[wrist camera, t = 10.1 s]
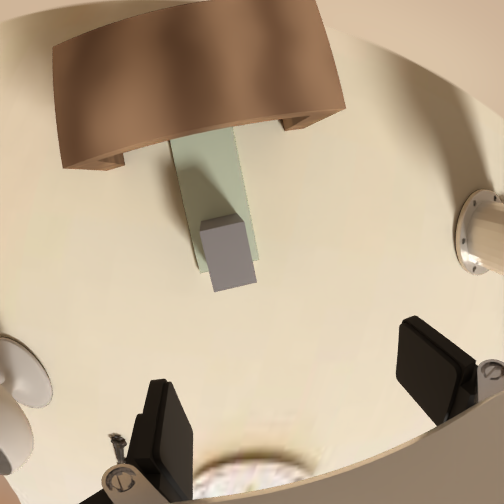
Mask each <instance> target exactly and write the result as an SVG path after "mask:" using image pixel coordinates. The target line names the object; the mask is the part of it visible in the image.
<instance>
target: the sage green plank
mask: <svg viewBox="0 0 504 504" xmlns="http://www.w3.org/2000/svg"><path fill="white" fill-rule="evenodd" d="M170 143H171V148H172V153H173V158H174V163H175V167H176V172H177V177H178V182H179V186H180V191H181V195H182V200H183V204H184V209H185V213H186V217H187V222H188V226H189V230H190V234H191V238H192V242H193V246H194V250H195V254H196V258H197V262H198V266H199V270H200V273H204V272H208V271H209V274H210V277H211V281H212V285H213V289H214V292H217V291H222V290H226V289H230V288H235V287H239V286H243V285H247V284H251V283H256V282H257V280H256V276H255V271H254V266H253V261H256V260H259V255H258V250H257V245H256V240H255V235H254V230H253V225H252V220H251V215H250V210H249V205H248V200H247V195H246V190H245V185H244V180H243V175H242V171H241V166H240V161H239V156H238V151H237V146H236V141H235V136H234V131H233V127H228V128H222V129H217V130H212V131H207V132H203V133H198V134H193V135H189V136H185V137H180V138H176V139H172V140H170Z"/></svg>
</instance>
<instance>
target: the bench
mask: <svg viewBox="0 0 504 504" xmlns="http://www.w3.org/2000/svg"><path fill="white" fill-rule="evenodd" d="M53 86H54V102H55V113H56V123H57V132H58V140H59V147H60V154H61V160H62V166H63V168H65V169H87V170H104V171H107V170H111V169H114V168H117V167H121V166H124V165H125V162H124V157H123V153H124V152H127V151H131V150H134V149H138V148H141V147H145V146H149V145H152V144H156V143H160V142H164V141H168V140H172V139H176V138H180V137H185V136H189V135H193V134H198V133H203V132H207V131H212V130H217V129H222V128H228V127H233V126H239V125H245V124H251V123H257V122H263V121H270V120H278V119H282V120H283V125H284V130H285V131H288V130H295V129H303V128H305V127H308V126H310V125H312V124H314V123H316V122H318V121H320V120H322V119H324V118H326V117H328V116H331V115H333V114H335V113H337V112H339V111H341V110H344V109H346V106H345V102H344V97H343V93H342V89H341V85H340V81H339V77H338V73H337V69H336V65H335V62H334V58H333V55H332V51H331V48H330V44H329V41H328V38H327V34H326V31H325V28H324V25H323V22H322V19H321V16H320V13H319V10H318V7H317V5H316V1H315V0H210V1H202V2H196V3H190V4H185V5H179V6H174V7H170V8H165V9H161V10H157V11H153V12H149V13H145V14H141V15H137V16H134V17H131V18H127V19H124V20H121V21H118V22H114V23H111V24H108V25H106V26H103V27H100V28H97V29H94V30H92V31H89V32H87V33H84V34H82V35H79V36H77V37H74V38H72V39H70V40H67V41H65V42H63V43H61V44H58V45H56V46H54V47H53Z"/></svg>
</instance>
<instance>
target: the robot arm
mask: <svg viewBox="0 0 504 504" xmlns="http://www.w3.org/2000/svg"><path fill="white" fill-rule="evenodd" d="M456 251H457V256H458V259H459V262H460V264H461V266H462V267H463V269H465V270H466V271H467V272H469V273H471V274H473V275H482V274H484V273H486V272H487V271H489V270H491V271H494V272H496V273H499V274H501V275H503V276H504V203H502V202H501V200H500V198H499V197H498V196H497V194H495V193H494V192H493V191H490V190H485V189H481V190H477V191H476V192H474V193H473V194H472V195H471V196H469V198H468V199H467V201H466V202H465V204H464V206H463V208H462V210H461V213H460V216H459V219H458V223H457V229H456ZM475 363H476V360H475V359H473V358H472V357H471V356H469V355H468V354H467V353H466V352H464V351H463V350H462V349H460V348H459V347H458V346H456V345H455V344H454V343H452V342H451V341H450V340H449V339H447V338H446V337H445V336H443V335H442V334H441V333H439V332H438V331H437V330H435V329H434V328H432V327H431V326H430V325H428V324H427V323H426V322H424V321H423V320H422V319H420V318H419V317H418V316H412V317H409V318H406V319H404V320H403V321H402V324H401V325H400V327H399V342H398V356H397V367H396V378H397V380H398V382H399V383H400V384H401V385H402V386H403V387H404V388H405V390H406V391H407V392H408V393H409V394H410V395H411V396H412V398H413V399H414V400H415V401H416V402H417V403H418V405H419V406H420V407H421V408H422V409H423V410H424V412H425V413H426V414H427V415H428V416H429V417H430V419H431V420H432V421H433V422H434V423H435V424H436V426H437V427H435V428H433V429H431V430H430V431H428V432H426V433H424V434H422V435H420V436H418V437H416V438H414V439H412V440H410V441H408V442H405V443H403V444H401V445H399V446H397V447H395V448H392V449H390V450H388V451H385V452H383V453H381V454H378V455H376V456H373V457H371V458H368V459H366V460H363V461H360V462H358V463H355V464H352V465H350V466H347V467H344V468H341V469H338V470H335V471H332V472H329V473H325V474H322V475H319V476H315V477H312V478H308V479H305V480H301V481H297V482H293V483H289V484H285V485H281V486H276V487H272V488H267V489H262V490H257V491H251V492H245V493H240V494H234V495H227V496H220V497H212V498H203V499H196V500H192V499H193V431H192V428H191V425H190V423H189V421H188V419H187V417H186V414H185V412H184V410H183V408H182V405H181V403H180V401H179V398H178V396H177V394H176V391H175V389H174V387H173V384H172V382H167V380H166V379H158V380H151V381H150V384H149V388H148V392H147V397H146V401H145V405H144V409H143V414H138V415H137V417H136V420H135V424H134V428H133V432H132V436H131V440H130V445H129V449H128V454H127V458H126V463H125V464H118V465H115V466H112V467H110V468H109V469H108V470H107V471H106V472H105V473H104V474H103V477H102V487H103V489H102V490H100V491H99V492H97V493H95V494H94V495H92V496H91V497H89V498H87V499H86V500H84V501H83V502H81V503H79V504H504V363H503V362H502V361H499V360H494V359H490V360H486V361H483V362H482V363H480V364H479V366H477V365H476V364H475Z"/></svg>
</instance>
